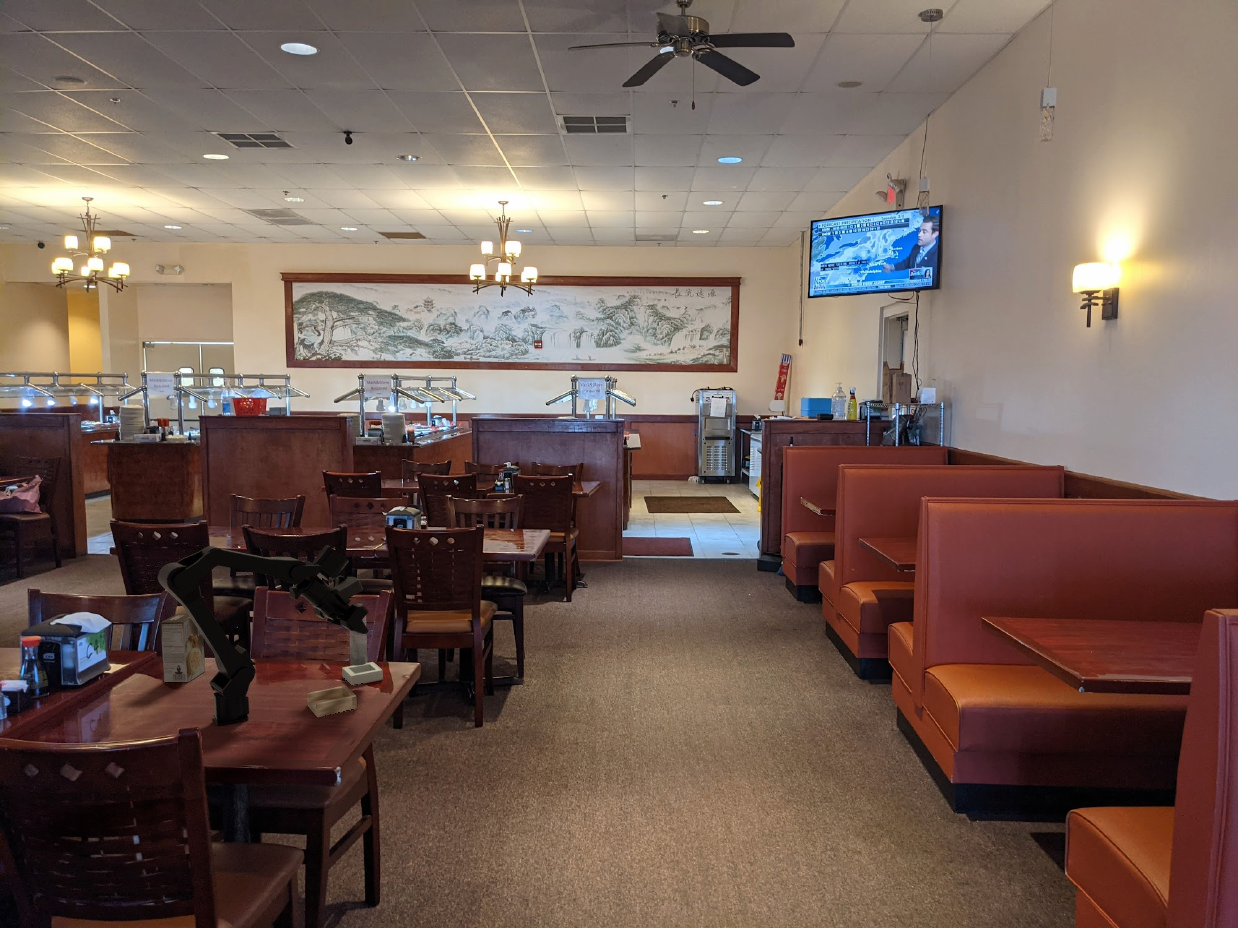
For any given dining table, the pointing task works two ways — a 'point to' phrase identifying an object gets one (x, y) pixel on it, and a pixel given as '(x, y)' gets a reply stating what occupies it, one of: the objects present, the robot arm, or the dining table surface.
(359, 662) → the silver and grey cylinder
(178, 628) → the coffee box
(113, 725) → the dining table surface
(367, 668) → the socket block
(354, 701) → the beige square tray
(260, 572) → the robot arm
